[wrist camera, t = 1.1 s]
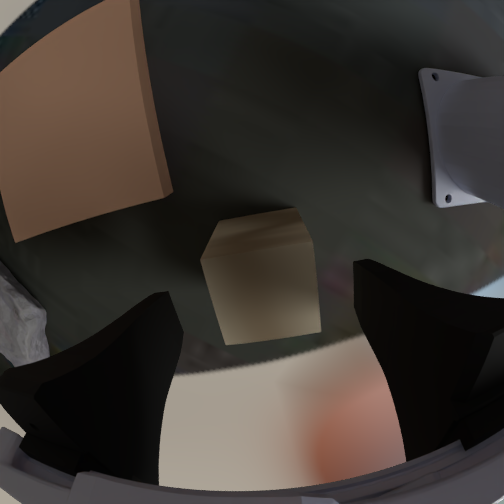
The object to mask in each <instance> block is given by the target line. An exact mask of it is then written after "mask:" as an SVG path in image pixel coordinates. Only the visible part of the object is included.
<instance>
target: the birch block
mask: <svg viewBox="0 0 504 504" xmlns="http://www.w3.org/2000/svg"><path fill="white" fill-rule="evenodd" d="M200 261H201V265H202V268H203V272H204V275H205V279H206V282H207V286H208V289H209V292H210V296H211V299H212V302H213V306H214V309H215V312H216V315H217V319H218V322H219V325H220V328H221V331H222V335H223V338H224V341H225V344H226V345H232V344H241V343H250V342H258V341H265V340H273V339H280V338H286V337H293V336H299V335H305V334H311V333H317V332H321V324H320V310H319V298H318V287H317V276H316V266H315V257H314V248H313V241H312V239H311V237H310V235H309V233H308V231H307V228H306V226H305V224H304V222H303V220H302V218H301V216H300V215H299V213H298V211H297V209H296V208H289V209H283V210H277V211H271V212H265V213H260V214H254V215H248V216H243V217H237V218H232V219H226V220H221V221H219V222H218V224H217V226H216V228H215V230H214V232H213V234H212V236H211V238H210V240H209V242H208V244H207V246H206V248H205V251H204V253H203V255H202V257H201V259H200Z"/></svg>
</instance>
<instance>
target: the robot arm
mask: <svg viewBox="0 0 504 504" xmlns="http://www.w3.org/2000/svg"><path fill="white" fill-rule="evenodd" d="M432 74H433V75H434V76H435V80H434V79H433V78H432ZM418 76H419V81H420V86H421V91H422V96H423V102H424V107H425V114H426V121H427V128H428V136H429V146H430V157H431V171H432V199H433V203H434V205H435V206H437V207H439V208H444V207H452V206H459V205H466V204H473V203H481V202H489V203H492V204H494V205H496V206H498V207H501V208H503V209H504V75H501V76H492V77H484V78H482V77H478V76H473V75H468V74H463V73H458V72H452V71H446V70H440V69H433V68H422V69H420V70H419V72H418ZM446 195H448V199H447V201H445V197H446ZM353 273H354V308H355V311H356V314H357V317H358V320H359V322H360V325H361V328H362V330H363V332H364V334H365V336H366V338H367V340H368V342H369V344H370V346H371V347H372V349H373V351H374V353H375V355H376V357H377V359H378V361H379V363H380V365H381V367H382V370H383V372H384V374H385V377H386V380H387V383H388V385H389V389H390V392H391V395H392V398H393V402H394V405H395V409H396V413H397V416H398V420H399V425H400V429H401V434H402V438H403V444H404V449H405V456H406V462H405V463H402V464H399V465H396V466H393V467H390V468H387V469H384V470H380V471H377V472H374V473H370V474H366V475H362V476H358V477H354V478H350V479H345V480H341V481H336V482H331V483H325V484H319V485H313V486H306V487H298V488H291V489H279V490H266V491H206V490H192V489H181V488H173V487H165V486H159V469H158V468H159V467H158V465H159V445H160V435H161V427H162V420H163V413H164V407H165V402H166V398H167V395H168V391H169V388H170V385H171V382H172V379H173V375H174V372H175V369H176V366H177V363H178V360H179V356H180V353H181V347H182V341H183V334H184V331H183V329H182V326H181V324H180V321H179V319H178V316H177V313H176V311H175V308H174V305H173V303H172V300H171V297H170V295H169V292H168V291H166V292H158V293H154V294H152V295H150V296H148V297H147V298H145V299H144V300H142V301H141V302H140V303H138V304H137V305H135V306H134V307H133V308H131V309H130V310H129V311H127V312H126V313H125V314H123V315H122V316H121V317H119V318H118V319H116V320H115V321H114V322H112V323H111V324H109V325H108V326H106V327H105V328H104V329H102V330H101V331H99V332H98V333H96V334H94V335H93V336H91V337H89V338H88V339H86V340H84V341H82V342H81V343H79V344H77V345H75V346H73V347H71V348H68V349H66V350H64V351H62V352H60V353H58V354H55V355H53V356H50V357H48V358H45V359H42V360H39V361H36V362H33V363H29V364H25V365H21V366H17V367H13V368H9V369H7V370H6V371H5V372H4V373H3V374H2V376H1V377H0V404H1V405H2V406H3V408H4V409H5V410H6V411H7V413H8V414H9V415H10V416H11V417H12V418H13V419H14V420H15V422H16V423H17V424H18V425H19V426H20V427H21V428H22V429H23V430H24V431H25V432H26V434H25V436H24V438H23V437H21V436H20V435H19V434H17V433H15V432H13V431H11V430H9V429H7V428H5V427H2V428H1V429H0V487H1V488H2V489H3V490H4V491H6V492H7V493H8V494H10V495H11V496H12V497H14V498H15V499H16V500H18V501H19V502H21V503H22V504H497V503H499V502H500V501H501V500H503V499H504V298H491V297H481V296H475V295H469V294H464V293H459V292H455V291H451V290H447V289H444V288H440V287H437V286H434V285H431V284H428V283H425V282H422V281H420V280H417V279H415V278H412V277H410V276H407V275H405V274H403V273H400V272H398V271H396V270H394V269H392V268H389V267H387V266H385V265H383V264H381V263H378V262H376V261H373V260H370V259H364V260H359V261H354V262H353Z"/></svg>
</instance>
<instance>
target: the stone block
mask: <svg viewBox="0 0 504 504" xmlns="http://www.w3.org/2000/svg"><path fill="white" fill-rule="evenodd" d="M45 325H46V310H45V309H44V308H43V306H42V305H41V304H40V303H39V302H38V301H37V300H36V299H35V298H34V297H32V296H31V294H30V293H29V292H28V291H27V290H26V289H25V288H24V287H23V286H22V285H21V284H20V283H19V282H18V281H17V280H16V279H15V277H14V276H13V275H12V274H11V272H10V271H9V269H8V268H7V267H6V266H5V265H4V264H3V263H2V262H1V261H0V353H2V354H3V355H5V357H6V358H7V359H8V360H9V361H11V362H12V363H13V365H14V366H15V367H17V366H21V365H25V364H29V363H33V362H36V361H39V360H42V359H45V358H48V357H50V355H49V346H48V343H47V338H46V335H45Z"/></svg>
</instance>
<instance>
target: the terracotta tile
mask: <svg viewBox="0 0 504 504" xmlns="http://www.w3.org/2000/svg"><path fill="white" fill-rule="evenodd" d="M0 191H1V195H2V199H3V203H4V207H5V211H6V215H7V218H8V221H9V225H10V228H11V231H12V234H13V237H14V240H15V243H17V242H19V241H22V240H25V239H28V238H30V237H33V236H36V235H39V234H42V233H45V232H48V231H51V230H54V229H57V228H60V227H63V226H66V225H69V224H72V223H75V222H78V221H82V220H85V219H88V218H91V217H95V216H98V215H102V214H105V213H109V212H112V211H116V210H119V209H123V208H127V207H130V206H134V205H138V204H142V203H146V202H150V201H154V200H158V199H162V198H165V197H166V196H168V195H170V194H171V193H173V188H172V184H171V180H170V175H169V171H168V167H167V163H166V158H165V154H164V149H163V145H162V140H161V135H160V130H159V125H158V120H157V115H156V110H155V105H154V100H153V94H152V89H151V83H150V77H149V71H148V65H147V58H146V52H145V45H144V38H143V30H142V22H141V14H140V5H139V0H105V1H103V2H101V3H99V4H97V5H95V6H93V7H92V8H90V9H88V10H86V11H84V12H83V13H81V14H79V15H77V16H76V17H74V18H72V19H71V20H69V21H67V22H66V23H64V24H63V25H61V26H60V27H58V28H56V29H55V30H53V31H52V32H51V33H49V34H48V35H46V36H45V37H43V38H42V39H41V40H39V41H38V42H37V43H35V44H34V45H33V46H31V47H30V48H29V49H27V50H26V51H25V52H24V53H22V54H21V55H20V56H19V57H17V58H16V59H15V60H14V61H13V62H12V63H10V64H9V65H8V66H7V67H6V68H5V69H4V70H3V71H1V72H0Z"/></svg>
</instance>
